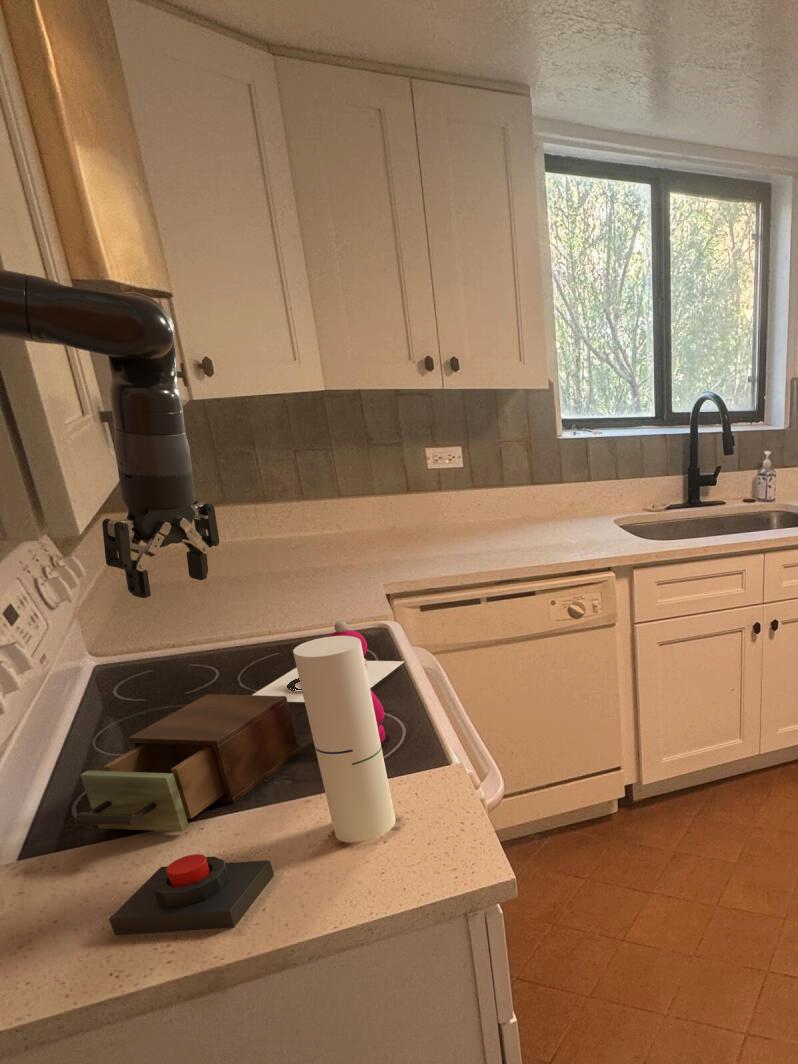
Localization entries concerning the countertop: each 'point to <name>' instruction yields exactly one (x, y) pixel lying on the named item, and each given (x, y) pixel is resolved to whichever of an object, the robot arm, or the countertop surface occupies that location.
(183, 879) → the button
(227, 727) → the cabinet
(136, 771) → the drawer
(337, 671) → the cylindrical container
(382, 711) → the pepper mill
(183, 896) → the control block
